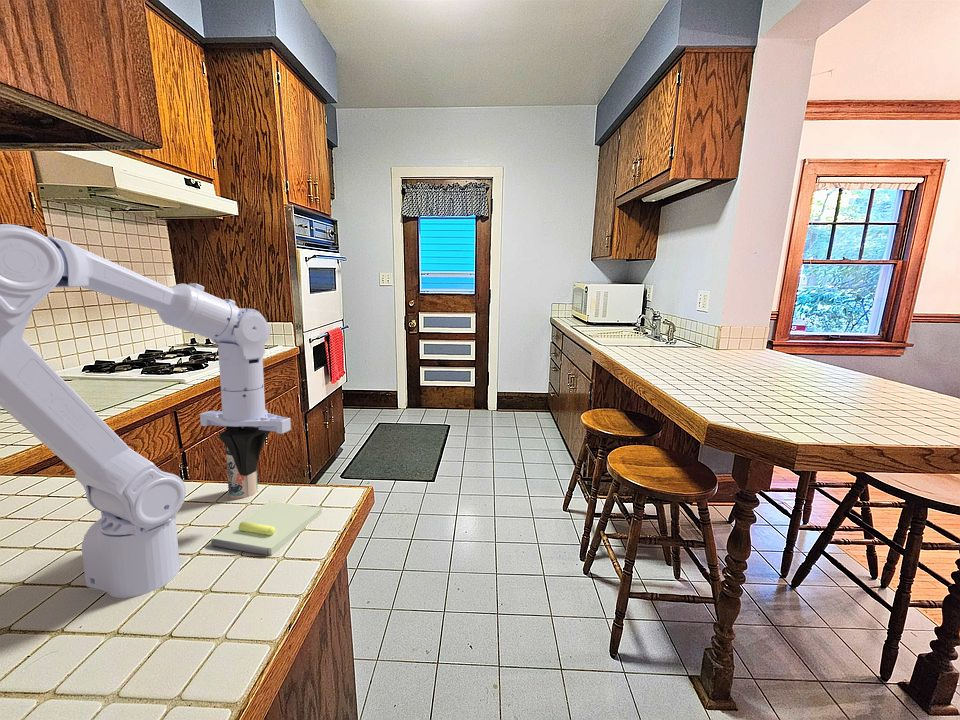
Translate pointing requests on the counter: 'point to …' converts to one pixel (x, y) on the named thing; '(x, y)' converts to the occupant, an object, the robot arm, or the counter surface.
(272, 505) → the plate
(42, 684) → the counter surface
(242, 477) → the beer can
